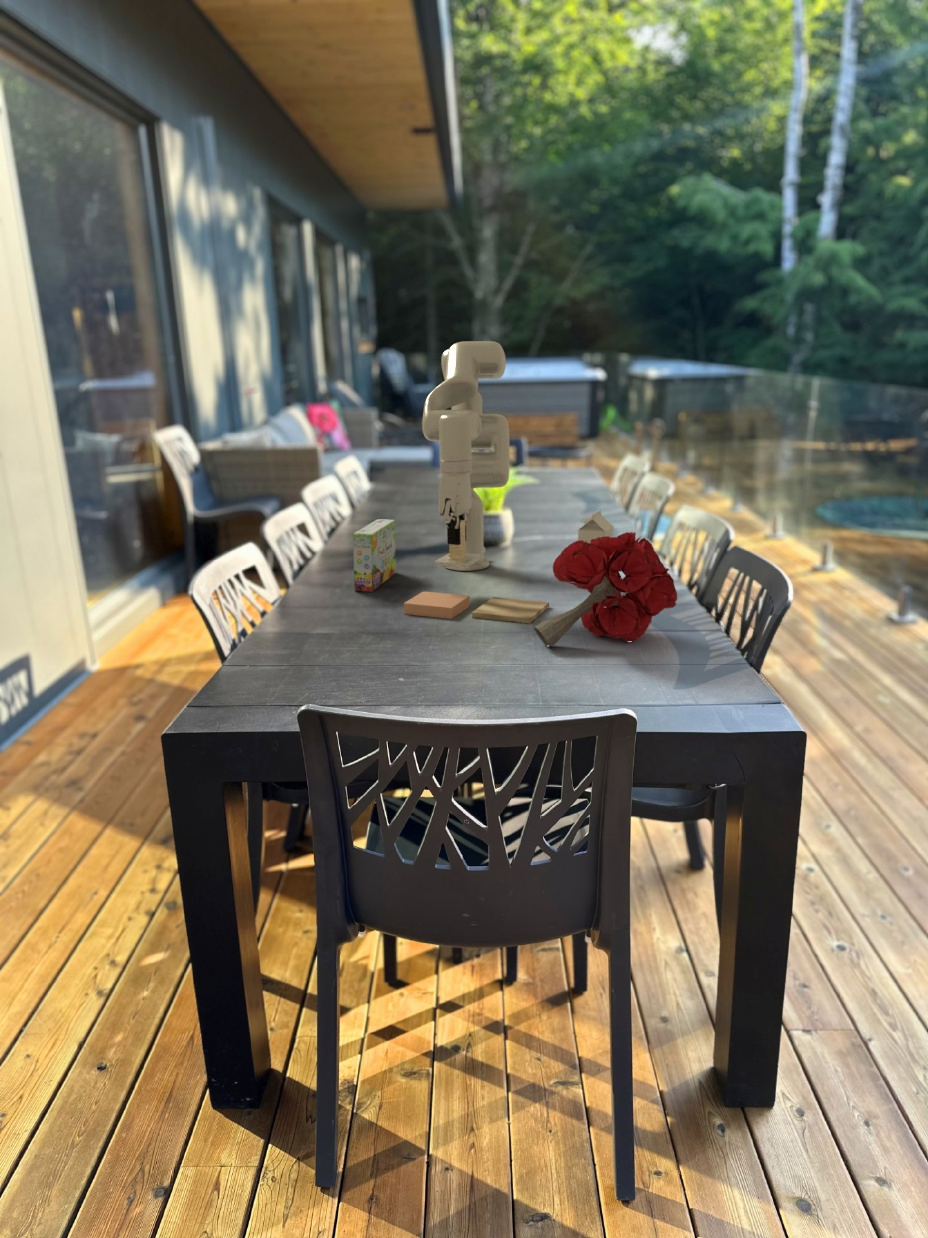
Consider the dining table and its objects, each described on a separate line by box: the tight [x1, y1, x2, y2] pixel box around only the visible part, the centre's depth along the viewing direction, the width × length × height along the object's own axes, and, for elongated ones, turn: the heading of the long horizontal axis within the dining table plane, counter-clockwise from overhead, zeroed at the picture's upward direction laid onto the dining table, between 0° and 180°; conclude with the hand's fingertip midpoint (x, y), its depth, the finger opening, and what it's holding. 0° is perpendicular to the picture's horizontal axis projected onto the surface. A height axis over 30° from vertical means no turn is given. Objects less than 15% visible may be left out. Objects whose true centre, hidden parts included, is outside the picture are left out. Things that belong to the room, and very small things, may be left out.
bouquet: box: [534, 531, 678, 648], centre depth 185 cm, size 22×24×30 cm
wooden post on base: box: [433, 519, 480, 569], centre depth 220 cm, size 10×8×10 cm
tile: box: [403, 591, 470, 620], centre depth 212 cm, size 3×12×11 cm
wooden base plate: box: [471, 596, 550, 624], centre depth 210 cm, size 14×14×1 cm
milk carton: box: [577, 509, 614, 543], centre depth 229 cm, size 7×7×19 cm
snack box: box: [352, 518, 397, 593], centre depth 237 cm, size 21×6×15 cm, turn 168°
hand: (457, 541), depth 220 cm, fingers closed on wooden post on base, 3 cm apart
